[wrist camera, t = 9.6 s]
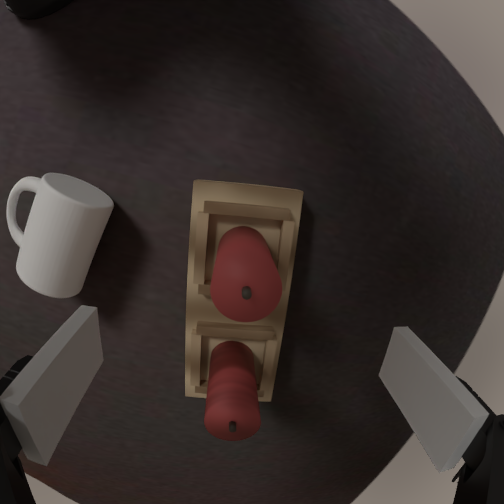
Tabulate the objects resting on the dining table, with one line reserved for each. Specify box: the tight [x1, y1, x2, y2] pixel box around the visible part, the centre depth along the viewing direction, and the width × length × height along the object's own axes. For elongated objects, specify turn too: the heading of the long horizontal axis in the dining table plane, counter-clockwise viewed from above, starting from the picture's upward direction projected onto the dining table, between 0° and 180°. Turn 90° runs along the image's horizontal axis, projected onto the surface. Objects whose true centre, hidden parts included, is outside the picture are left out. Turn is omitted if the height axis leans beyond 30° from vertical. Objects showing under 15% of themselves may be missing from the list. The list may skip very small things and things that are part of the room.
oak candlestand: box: [185, 180, 303, 441], centre depth 28 cm, size 24×10×14 cm, turn 174°
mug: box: [7, 173, 114, 298], centre depth 27 cm, size 12×10×8 cm
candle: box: [210, 226, 282, 322], centre depth 25 cm, size 5×5×11 cm
